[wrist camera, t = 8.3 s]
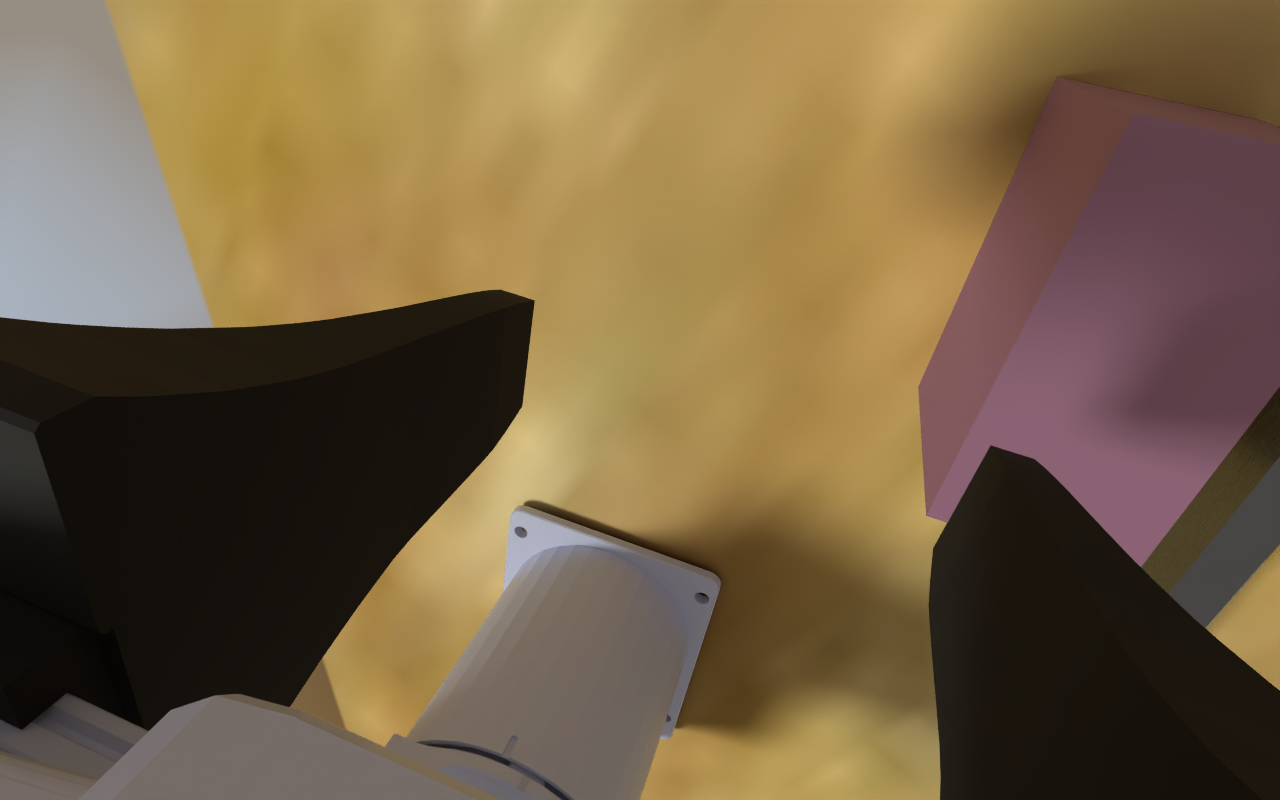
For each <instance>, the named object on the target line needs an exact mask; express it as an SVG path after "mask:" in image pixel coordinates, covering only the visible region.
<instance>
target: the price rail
mask: <svg viewBox="0 0 1280 800" xmlns="http://www.w3.org/2000/svg"><path fill="white" fill-rule="evenodd" d="M1279 544H1280V387H1279V388H1278V389H1277V391H1276V392H1275V393H1274V395H1273V396H1272V397H1271V399H1270V400H1269V401H1268V402H1267V404H1266V405H1265V406H1264V408H1263V409H1262V410H1261V412H1260V413H1259V414H1258V415H1257V417H1256V418H1255V419H1254V421H1253V422H1252V423H1251V425H1250V426H1249V427H1248V429H1247V430H1246V431H1245V432H1244V434H1243V435H1242V436H1241V438H1240V439H1239V440H1238V442H1237V443H1236V444H1235V445H1234V447H1233V448H1232V449H1231V451H1230V452H1229V453H1228V455H1227V456H1226V457H1225V458H1224V460H1223V461H1222V462H1221V464H1220V465H1219V466H1218V468H1217V469H1216V470H1215V471H1214V473H1213V474H1212V475H1211V477H1210V478H1209V479H1208V481H1207V482H1206V483H1205V484H1204V486H1203V487H1202V488H1201V490H1200V491H1199V492H1198V494H1197V495H1196V496H1195V497H1194V499H1193V500H1192V501H1191V503H1190V504H1189V505H1188V507H1187V508H1186V509H1185V511H1184V512H1183V513H1182V514H1181V516H1180V517H1179V518H1178V520H1177V521H1176V522H1175V524H1174V525H1173V526H1172V527H1171V529H1170V530H1169V531H1168V533H1167V534H1166V535H1165V537H1164V538H1163V539H1162V540H1161V542H1160V543H1159V544H1158V546H1157V547H1156V548H1155V550H1154V551H1153V552H1152V553H1151V555H1150V556H1149V557H1148V559H1147V560H1146V561H1145V563H1144V564H1143V565H1142V566H1141V568H1142V569H1143V570H1144V571H1145V572H1146V573H1147V574H1148V575H1149V576H1150V577H1151V578H1152V579H1153V580H1154V581H1155V582H1156V583H1157V584H1158V585H1159V586H1160V587H1161V588H1163V589H1164V590H1165V591H1166V592H1167V593H1168V594H1169V595H1170V596H1171V597H1172V598H1173V599H1174V600H1175V601H1176V602H1177V603H1178V604H1179V605H1180V606H1181V607H1183V608H1184V609H1185V610H1186V611H1187V612H1188V613H1189V614H1190V615H1191V616H1192V617H1193V618H1194V619H1195V620H1196V621H1197V622H1199V623H1200V624H1201V625H1202V626H1203V627H1204V628H1205V629H1206V628H1207V626H1208V625H1209V624H1210V623H1211V622H1212V621H1213V620H1214V619H1215V617H1216V616H1217V615H1218V614H1219V613H1220V612H1221V611H1222V610H1223V608H1224V607H1225V606H1226V605H1227V604H1228V603H1229V602H1230V600H1231V599H1232V598H1233V597H1234V596H1235V595H1236V594H1237V593H1238V591H1239V590H1240V589H1241V588H1242V587H1243V586H1244V585H1245V583H1246V582H1247V581H1248V580H1249V579H1250V578H1251V577H1252V576H1253V574H1254V573H1255V572H1256V571H1257V570H1258V569H1259V568H1260V566H1261V565H1262V564H1263V563H1264V562H1265V560H1266V559H1267V558H1268V557H1269V556H1270V554H1271V553H1272V552H1273V551H1274V550H1275V549H1276V548H1277V546H1278V545H1279Z"/></svg>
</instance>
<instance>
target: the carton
mask: <svg viewBox="0 0 1280 800" xmlns="http://www.w3.org/2000/svg"><path fill="white" fill-rule="evenodd" d="M1279 387H1280V127H1277V126H1274V125H1271V124H1268V123H1265V122H1262V121H1259V120H1255V119H1251V118H1246V117H1241V116H1237V115H1232V114H1228V113H1223V112H1218V111H1214V110H1209V109H1204V108H1200V107H1195V106H1190V105H1186V104H1181V103H1176V102H1172V101H1167V100H1163V99H1158V98H1153V97H1149V96H1144V95H1139V94H1135V93H1130V92H1125V91H1121V90H1116V89H1111V88H1107V87H1102V86H1098V85H1093V84H1088V83H1084V82H1079V81H1074V80H1070V79H1065V78H1060V77H1057V79H1056V81H1055V83H1054V86H1053V88H1052V90H1051V92H1050V95H1049V97H1048V99H1047V101H1046V103H1045V106H1044V108H1043V110H1042V112H1041V115H1040V117H1039V119H1038V121H1037V123H1036V126H1035V128H1034V130H1033V132H1032V135H1031V137H1030V139H1029V141H1028V144H1027V146H1026V148H1025V150H1024V152H1023V155H1022V157H1021V159H1020V161H1019V164H1018V166H1017V168H1016V170H1015V173H1014V175H1013V177H1012V179H1011V181H1010V184H1009V186H1008V188H1007V190H1006V193H1005V195H1004V197H1003V199H1002V202H1001V204H1000V206H999V208H998V210H997V213H996V215H995V217H994V219H993V222H992V224H991V226H990V228H989V231H988V233H987V235H986V237H985V239H984V242H983V244H982V246H981V248H980V251H979V253H978V255H977V257H976V260H975V262H974V264H973V266H972V268H971V271H970V273H969V275H968V277H967V280H966V282H965V284H964V286H963V289H962V291H961V293H960V295H959V297H958V300H957V302H956V304H955V306H954V309H953V311H952V313H951V315H950V318H949V320H948V322H947V324H946V326H945V329H944V331H943V333H942V335H941V338H940V340H939V342H938V344H937V346H936V349H935V351H934V353H933V355H932V358H931V360H930V362H929V364H928V367H927V369H926V371H925V373H924V375H923V378H922V380H921V382H920V384H919V387H918V388H919V404H920V421H921V437H922V453H923V470H924V486H925V502H926V516H929V517H932V518H935V519H938V520H941V521H944V522H947V523H948V521H949V519H950V517H951V516H952V514H953V512H954V510H955V508H956V507H957V505H958V503H959V501H960V499H961V498H962V496H963V494H964V492H965V490H966V489H967V487H968V485H969V483H970V481H971V480H972V478H973V476H974V474H975V472H976V471H977V469H978V467H979V465H980V463H981V462H982V460H983V458H984V456H985V454H986V453H987V451H988V449H989V447H990V445H992V446H995V447H998V448H1001V449H1004V450H1008V451H1011V452H1014V453H1017V454H1020V455H1023V456H1027V457H1030V458H1033V459H1035V460H1036V461H1038V462H1039V463H1040V464H1041V465H1042V466H1044V467H1045V468H1046V469H1047V470H1048V471H1049V472H1050V473H1051V474H1052V475H1053V476H1054V477H1055V478H1056V479H1057V480H1058V481H1059V482H1060V483H1061V484H1062V485H1063V486H1064V487H1065V488H1066V489H1067V490H1068V491H1069V492H1070V493H1071V494H1072V495H1073V497H1074V498H1075V499H1076V500H1077V501H1078V502H1079V503H1080V504H1081V505H1082V506H1083V507H1084V508H1085V509H1086V510H1087V511H1088V513H1089V514H1090V515H1091V516H1092V517H1093V518H1094V519H1095V520H1096V521H1097V522H1098V523H1099V524H1100V525H1101V526H1102V527H1103V529H1104V530H1105V531H1106V532H1107V533H1108V534H1109V535H1110V536H1111V537H1112V538H1113V539H1114V540H1115V541H1116V542H1117V543H1118V544H1119V545H1120V546H1121V547H1122V549H1123V550H1124V551H1125V552H1126V553H1127V554H1128V555H1129V556H1130V557H1131V558H1132V559H1133V560H1134V561H1135V562H1136V563H1137V564H1138V565H1139V566H1140V567H1141V566H1142V565H1143V564H1144V563H1145V561H1146V560H1147V559H1148V557H1149V556H1150V555H1151V553H1152V552H1153V551H1154V550H1155V548H1156V547H1157V546H1158V544H1159V543H1160V542H1161V540H1162V539H1163V538H1164V537H1165V535H1166V534H1167V533H1168V531H1169V530H1170V529H1171V527H1172V526H1173V525H1174V524H1175V522H1176V521H1177V520H1178V518H1179V517H1180V516H1181V514H1182V513H1183V512H1184V511H1185V509H1186V508H1187V507H1188V505H1189V504H1190V503H1191V501H1192V500H1193V499H1194V497H1195V496H1196V495H1197V494H1198V492H1199V491H1200V490H1201V488H1202V487H1203V486H1204V484H1205V483H1206V482H1207V481H1208V479H1209V478H1210V477H1211V475H1212V474H1213V473H1214V471H1215V470H1216V469H1217V468H1218V466H1219V465H1220V464H1221V462H1222V461H1223V460H1224V458H1225V457H1226V456H1227V455H1228V453H1229V452H1230V451H1231V449H1232V448H1233V447H1234V445H1235V444H1236V443H1237V442H1238V440H1239V439H1240V438H1241V436H1242V435H1243V434H1244V432H1245V431H1246V430H1247V429H1248V427H1249V426H1250V425H1251V423H1252V422H1253V421H1254V419H1255V418H1256V417H1257V415H1258V414H1259V413H1260V412H1261V410H1262V409H1263V408H1264V406H1265V405H1266V404H1267V402H1268V401H1269V400H1270V399H1271V397H1272V396H1273V395H1274V393H1275V392H1276V391H1277V389H1278V388H1279Z"/></svg>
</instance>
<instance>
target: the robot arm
mask: <svg viewBox="0 0 1280 800" xmlns="http://www.w3.org/2000/svg"><path fill="white" fill-rule="evenodd" d="M534 301H535V300H531V299H528V298H525V297H522V296H519V295H516V294H512V293H509V292H506V291H503V290H488V291H480V292H474V293H468V294H463V295H458V296H452V297H448V298H443V299H438V300H433V301H428V302H423V303H418V304H413V305H409V306H404V307H399V308H394V309H388V310H382V311H376V312H370V313H364V314H358V315H353V316H347V317H341V318H335V319H328V320H320V321H312V322H303V323H294V324H282V325H270V326H257V327H231V328H187V329H186V328H183V329H158V328H156V329H155V328H125V327H105V326H88V325H71V324H59V323H47V322H38V321H28V320H19V319H9V318H1V317H0V800H640V798H641V795H642V792H643V789H644V786H645V782H646V779H647V776H648V773H649V770H650V767H651V764H652V761H653V758H654V755H655V752H656V749H657V746H658V742H659V739H662V740H666V739H669V738H671V736H672V734H673V731H674V728H675V725H676V722H677V719H678V716H679V713H680V710H681V707H682V704H683V700H684V697H685V694H686V691H687V688H688V685H689V682H690V679H691V676H692V673H693V670H694V667H695V664H696V661H697V658H698V655H699V652H700V649H701V646H702V643H703V639H704V636H705V633H706V630H707V627H708V624H709V621H710V618H711V615H712V612H713V609H714V606H715V603H716V600H717V597H718V594H719V591H720V587H721V581H720V579H719V578H718V577H717V576H716V574H714V573H712V572H710V571H707V570H704V569H702V568H699V567H696V566H693V565H690V564H688V563H685V562H682V561H679V560H676V559H674V558H671V557H668V556H665V555H662V554H660V553H657V552H654V551H651V550H648V549H646V548H643V547H640V546H637V545H634V544H632V543H629V542H626V541H623V540H620V539H618V538H615V537H612V536H609V535H606V534H604V533H601V532H598V531H595V530H592V529H590V528H587V527H584V526H581V525H578V524H576V523H573V522H570V521H567V520H564V519H562V518H559V517H556V516H553V515H551V514H548V513H545V512H542V511H539V510H537V509H534V508H531V507H528V506H524V505H521V506H518V507H516V508H515V509H514V511H513V512H512V513H511V516H510V524H509V534H508V544H507V555H506V565H505V575H504V586H503V594H502V595H501V597H500V598H499V600H498V601H497V603H496V604H495V606H494V607H493V609H492V610H491V612H490V613H489V615H488V616H487V618H486V619H485V621H484V622H483V624H482V625H481V627H480V628H479V630H478V631H477V633H476V634H475V636H474V637H473V638H472V640H471V641H470V643H469V644H468V646H467V647H466V649H465V650H464V652H463V653H462V655H461V656H460V658H459V659H458V661H457V662H456V664H455V665H454V667H453V668H452V670H451V671H450V673H449V674H448V676H447V677H446V679H445V680H444V682H443V683H442V685H441V686H440V688H439V689H438V691H437V692H436V694H435V695H434V697H433V698H432V700H431V701H430V703H429V704H428V705H427V707H426V708H425V710H424V711H423V713H422V714H421V716H420V717H419V719H418V720H417V722H416V723H415V725H414V726H413V728H412V729H411V731H410V732H409V734H408V735H407V737H406V738H405V737H403V736H401V735H399V734H394V735H393V736H392V738H391V739H390V740H389V742H388V743H387V745H386V746H385V747H383V746H381V745H379V744H377V743H375V742H372V741H370V740H368V739H366V738H363V737H361V736H359V735H357V734H354V733H352V732H350V731H348V730H346V729H343V728H341V727H339V726H337V725H334V724H332V723H330V722H328V721H325V720H323V719H321V718H319V717H317V716H314V715H312V714H310V713H308V712H305V711H301V710H297V709H294V708H290V706H291V704H292V703H293V701H294V700H295V698H296V697H297V695H298V694H299V692H300V691H301V689H302V688H303V686H304V685H305V683H306V681H307V680H308V679H309V677H310V676H311V674H312V672H313V671H314V669H315V668H316V666H317V665H318V663H319V662H320V660H321V659H322V657H323V656H324V655H325V653H326V652H327V650H328V649H329V647H330V646H331V645H332V643H333V642H334V640H335V639H336V637H337V636H338V635H339V633H340V632H341V630H342V629H343V627H344V626H345V625H346V623H347V622H348V620H349V619H350V617H351V616H352V615H353V613H354V612H355V610H356V609H357V607H358V606H359V605H360V603H361V602H362V601H363V599H364V598H365V597H366V595H367V594H368V593H369V591H370V590H371V588H372V587H373V586H374V584H375V583H376V582H377V580H378V579H379V578H380V576H381V575H382V574H383V572H384V571H385V570H386V568H387V567H388V566H389V564H390V563H391V561H392V560H393V559H394V558H395V557H396V555H397V554H398V553H399V552H400V551H401V549H402V548H403V547H404V546H405V545H406V544H407V542H408V541H409V540H410V539H411V538H412V537H413V536H414V534H415V533H416V532H417V531H418V530H419V529H420V528H421V527H422V526H423V525H424V524H425V523H426V522H427V521H428V520H429V518H430V517H431V516H432V515H433V514H434V513H435V512H436V511H437V510H438V509H439V508H440V507H441V506H442V505H443V503H444V502H445V501H446V500H447V499H448V498H449V497H450V496H451V495H452V494H453V493H454V492H455V491H456V490H457V488H458V487H459V486H460V485H461V484H462V483H463V482H464V481H465V480H466V479H467V478H468V477H469V476H470V474H471V473H472V472H473V471H474V470H475V469H476V468H477V467H478V466H479V465H480V464H481V462H482V461H483V460H484V459H485V458H486V457H487V456H488V455H489V453H490V452H491V451H492V450H493V449H494V447H495V446H496V445H497V443H498V442H499V440H500V439H501V437H502V436H503V435H504V433H505V432H506V430H507V429H508V427H509V426H510V424H511V423H512V421H513V420H514V418H515V417H516V415H517V413H518V412H519V410H520V409H521V407H522V403H523V395H524V386H525V378H526V369H527V361H528V352H529V344H530V335H531V327H532V318H533V310H534ZM521 527H523V528H524V529H525V530H526V531H524V530H523V529H521ZM699 592H700V593H704V594H706V595H707V596H702V595H701V594H699ZM929 618H930V632H931V646H932V659H933V671H934V683H935V694H936V706H937V718H938V730H939V742H940V769H941V786H940V800H1280V691H1279V690H1278V689H1277V688H1276V687H1274V686H1273V685H1272V684H1271V683H1269V682H1268V681H1267V680H1266V679H1265V678H1263V677H1262V676H1261V675H1260V674H1259V673H1257V672H1256V671H1255V670H1254V669H1253V668H1251V667H1250V666H1249V665H1248V664H1247V663H1245V662H1244V661H1243V660H1242V659H1241V658H1239V657H1238V656H1237V655H1236V654H1235V653H1233V652H1232V651H1231V650H1230V649H1229V648H1227V647H1226V646H1225V645H1224V644H1223V643H1221V642H1220V641H1219V640H1218V639H1217V638H1216V637H1214V636H1213V635H1212V634H1211V633H1210V632H1209V631H1208V630H1206V629H1205V628H1204V627H1203V626H1202V625H1201V624H1200V623H1199V622H1197V621H1196V620H1195V619H1194V618H1193V617H1192V616H1191V615H1190V614H1189V613H1188V612H1187V611H1186V610H1185V609H1184V608H1183V607H1181V606H1180V605H1179V604H1178V603H1177V602H1176V601H1175V600H1174V599H1173V598H1172V597H1171V596H1170V595H1169V594H1168V593H1167V592H1166V591H1165V590H1164V589H1163V588H1161V587H1160V586H1159V585H1158V584H1157V583H1156V582H1155V581H1154V580H1153V579H1152V578H1151V577H1150V576H1149V575H1148V574H1147V573H1146V572H1145V571H1144V570H1143V569H1142V568H1141V567H1140V566H1139V565H1138V564H1137V563H1136V562H1135V561H1134V560H1133V559H1132V558H1131V557H1130V556H1129V555H1128V554H1127V553H1126V552H1125V551H1124V550H1123V549H1122V547H1121V546H1120V545H1119V544H1118V543H1117V542H1116V541H1115V540H1114V539H1113V538H1112V537H1111V536H1110V535H1109V534H1108V533H1107V532H1106V531H1105V530H1104V529H1103V527H1102V526H1101V525H1100V524H1099V523H1098V522H1097V521H1096V520H1095V519H1094V518H1093V517H1092V516H1091V515H1090V514H1089V513H1088V511H1087V510H1086V509H1085V508H1084V507H1083V506H1082V505H1081V504H1080V503H1079V502H1078V501H1077V500H1076V499H1075V498H1074V497H1073V495H1072V494H1071V493H1070V492H1069V491H1068V490H1067V489H1066V488H1065V487H1064V486H1063V485H1062V484H1061V483H1060V482H1059V481H1058V480H1057V479H1056V478H1055V477H1054V476H1053V475H1052V474H1051V473H1050V472H1049V471H1048V470H1047V469H1046V468H1045V467H1044V466H1042V465H1041V464H1040V463H1039V462H1038V461H1036V460H1035V459H1033V458H1030V457H1027V456H1023V455H1020V454H1017V453H1014V452H1011V451H1008V450H1004V449H1001V448H998V447H995V446H992V445H990V447H989V449H988V451H987V453H986V454H985V456H984V458H983V460H982V462H981V463H980V465H979V467H978V469H977V471H976V472H975V474H974V476H973V478H972V480H971V481H970V483H969V485H968V487H967V489H966V490H965V492H964V494H963V496H962V498H961V499H960V501H959V503H958V505H957V507H956V508H955V510H954V512H953V514H952V516H951V517H950V519H949V521H948V523H947V524H946V526H945V528H944V530H943V532H942V533H941V535H940V537H939V539H938V541H937V542H936V544H935V546H934V548H933V557H932V567H931V578H930V594H929Z"/></svg>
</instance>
